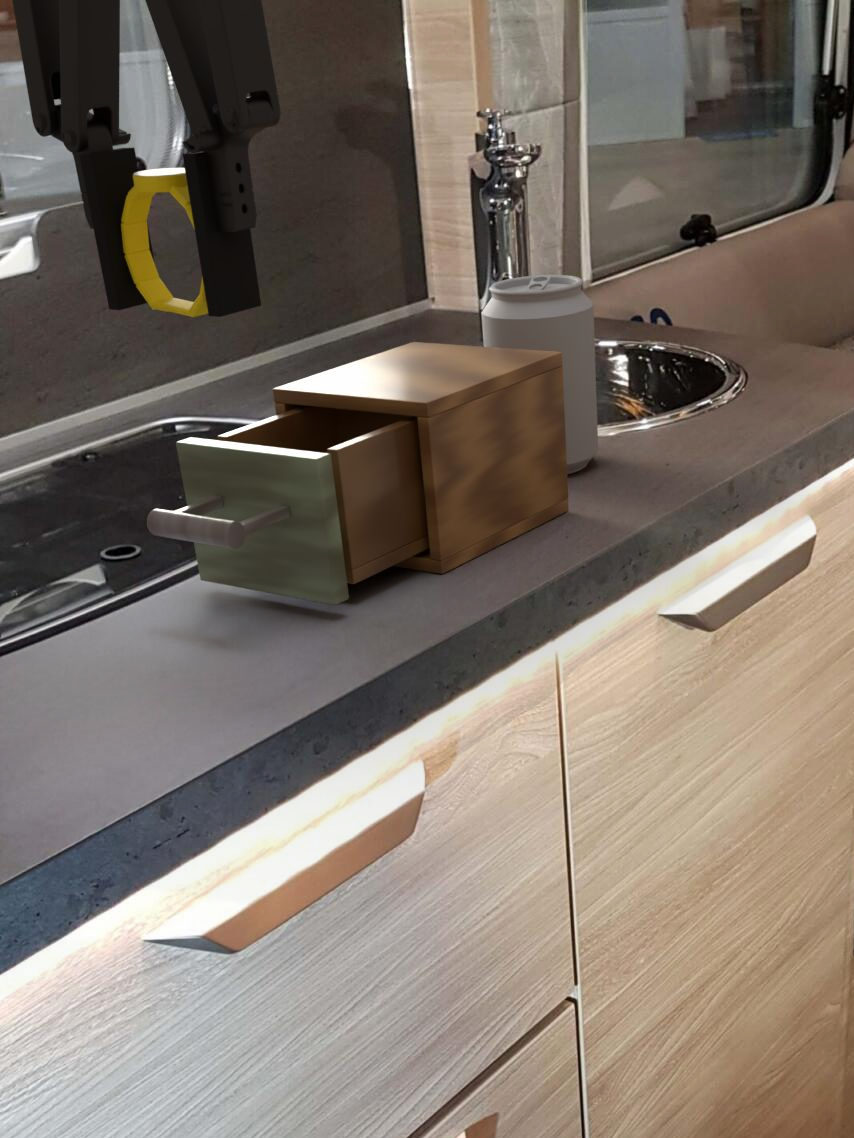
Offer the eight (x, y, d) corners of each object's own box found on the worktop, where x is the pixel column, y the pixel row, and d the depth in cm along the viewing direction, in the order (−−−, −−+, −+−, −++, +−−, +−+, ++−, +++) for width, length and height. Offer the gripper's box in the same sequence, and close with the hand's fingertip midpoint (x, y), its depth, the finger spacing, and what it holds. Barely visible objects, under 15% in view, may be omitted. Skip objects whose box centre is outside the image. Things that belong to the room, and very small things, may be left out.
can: (478, 480, 107) (464, 291, 100) (510, 451, 113) (498, 271, 106) (583, 481, 105) (575, 289, 98) (609, 452, 111) (604, 268, 104)
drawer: (273, 636, 81) (249, 485, 77) (136, 608, 87) (106, 465, 82) (469, 540, 93) (458, 404, 88) (338, 520, 98) (322, 391, 94)
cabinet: (442, 574, 91) (426, 402, 85) (295, 550, 97) (271, 388, 91) (569, 510, 99) (562, 351, 94) (427, 492, 105) (413, 341, 100)
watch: (122, 315, 74) (95, 174, 71) (167, 304, 76) (143, 166, 72) (203, 322, 71) (179, 175, 67) (248, 311, 72) (227, 166, 69)
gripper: (320, -375, 57) (388, 301, 70) (-4, -293, 67) (108, 285, 80) (174, -396, 53) (276, 334, 66) (-152, -305, 63) (-7, 313, 76)
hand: (184, 306), depth 73 cm, fingers closed on watch, 6 cm apart
